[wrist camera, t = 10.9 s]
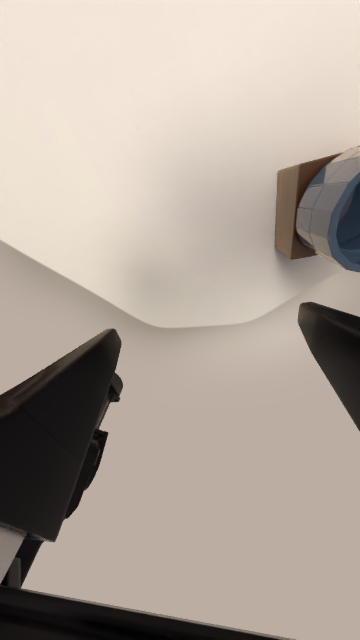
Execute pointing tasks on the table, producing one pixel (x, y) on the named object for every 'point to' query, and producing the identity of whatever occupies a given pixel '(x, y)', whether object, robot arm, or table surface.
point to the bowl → (333, 212)
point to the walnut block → (294, 205)
